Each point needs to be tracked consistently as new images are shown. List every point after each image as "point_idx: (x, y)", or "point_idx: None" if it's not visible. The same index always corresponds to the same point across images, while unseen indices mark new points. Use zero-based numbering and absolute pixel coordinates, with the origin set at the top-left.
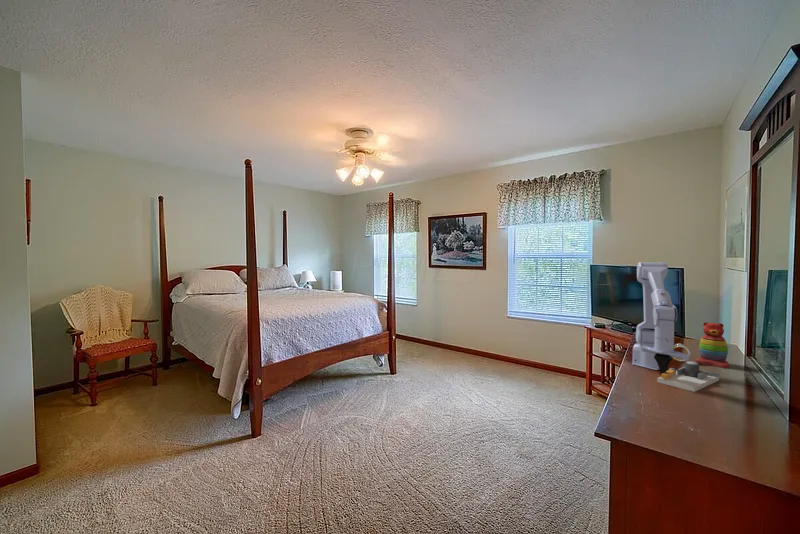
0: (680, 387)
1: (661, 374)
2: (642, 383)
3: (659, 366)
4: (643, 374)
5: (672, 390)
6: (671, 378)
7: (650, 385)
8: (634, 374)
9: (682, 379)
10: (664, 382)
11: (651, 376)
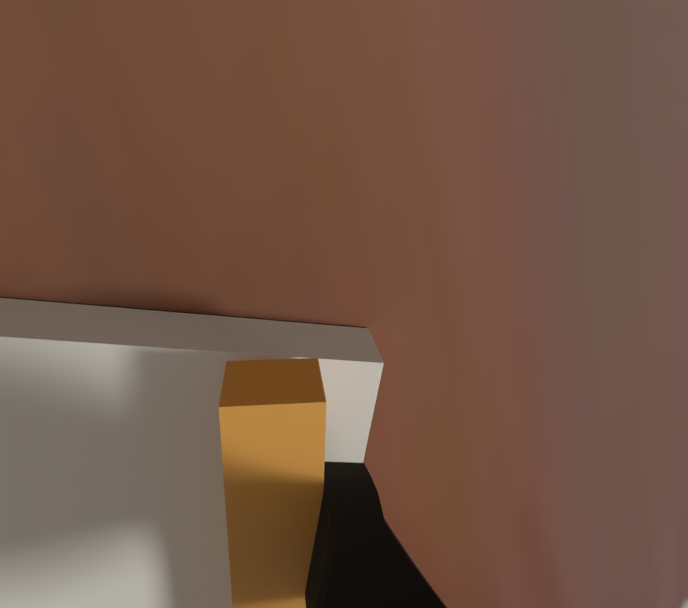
0: (11, 305)
1: (321, 397)
2: (531, 48)
3: (423, 600)
4: (563, 512)
5: (31, 37)
6: (213, 508)
7: (404, 35)
8: (656, 429)
9: (85, 583)
10: (264, 330)
11: (476, 512)
